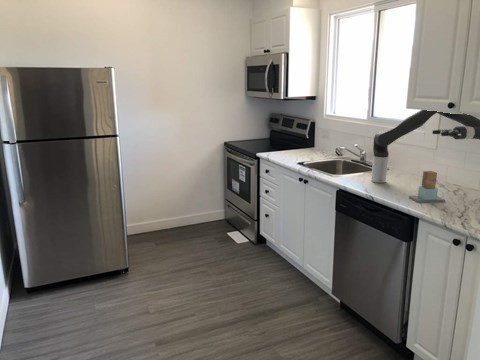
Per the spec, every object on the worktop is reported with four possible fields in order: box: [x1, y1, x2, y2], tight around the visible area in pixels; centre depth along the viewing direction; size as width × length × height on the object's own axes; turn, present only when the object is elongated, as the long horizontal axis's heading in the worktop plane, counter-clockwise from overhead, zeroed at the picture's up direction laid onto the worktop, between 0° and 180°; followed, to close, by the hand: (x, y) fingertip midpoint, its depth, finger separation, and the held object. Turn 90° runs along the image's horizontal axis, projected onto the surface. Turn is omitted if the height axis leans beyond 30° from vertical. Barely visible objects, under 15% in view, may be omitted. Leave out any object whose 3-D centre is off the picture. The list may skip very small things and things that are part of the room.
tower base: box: [408, 185, 446, 204], centre depth 219 cm, size 9×16×7 cm, turn 96°
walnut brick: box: [421, 170, 438, 189], centre depth 217 cm, size 5×5×9 cm
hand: (437, 133), depth 225 cm, fingers open, 8 cm apart
